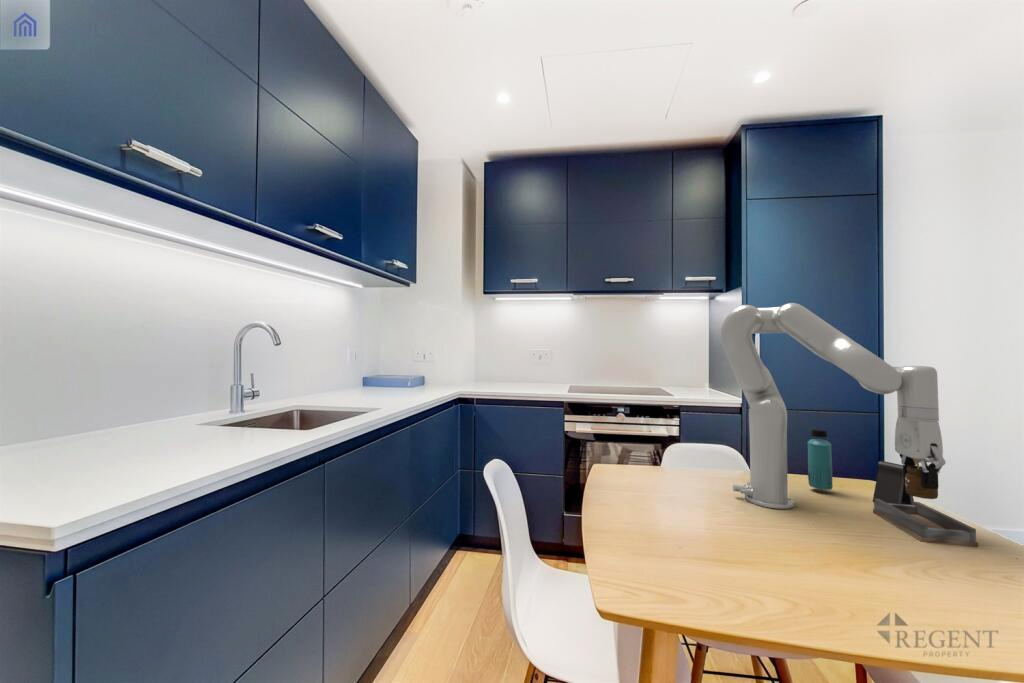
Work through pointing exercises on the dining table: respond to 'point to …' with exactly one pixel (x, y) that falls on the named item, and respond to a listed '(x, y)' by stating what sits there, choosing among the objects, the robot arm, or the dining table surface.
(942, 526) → the gray framed rectangular tray
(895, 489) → the phone stand
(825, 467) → the beverage bottle
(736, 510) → the dining table surface
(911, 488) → the utensil holder
